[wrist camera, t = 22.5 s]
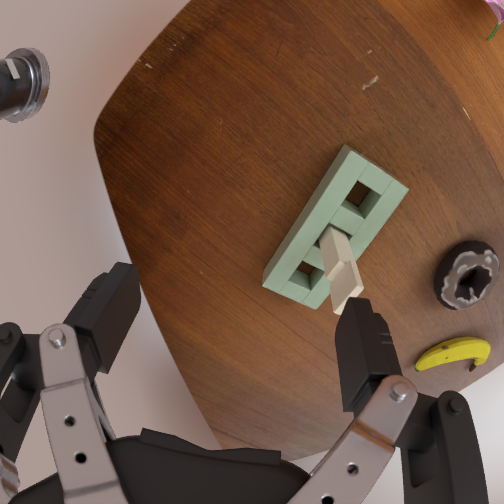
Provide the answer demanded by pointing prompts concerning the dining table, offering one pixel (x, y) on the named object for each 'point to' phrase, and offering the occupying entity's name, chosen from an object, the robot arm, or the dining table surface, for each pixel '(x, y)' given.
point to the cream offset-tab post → (339, 266)
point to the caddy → (339, 214)
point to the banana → (455, 352)
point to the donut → (457, 267)
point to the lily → (496, 12)
